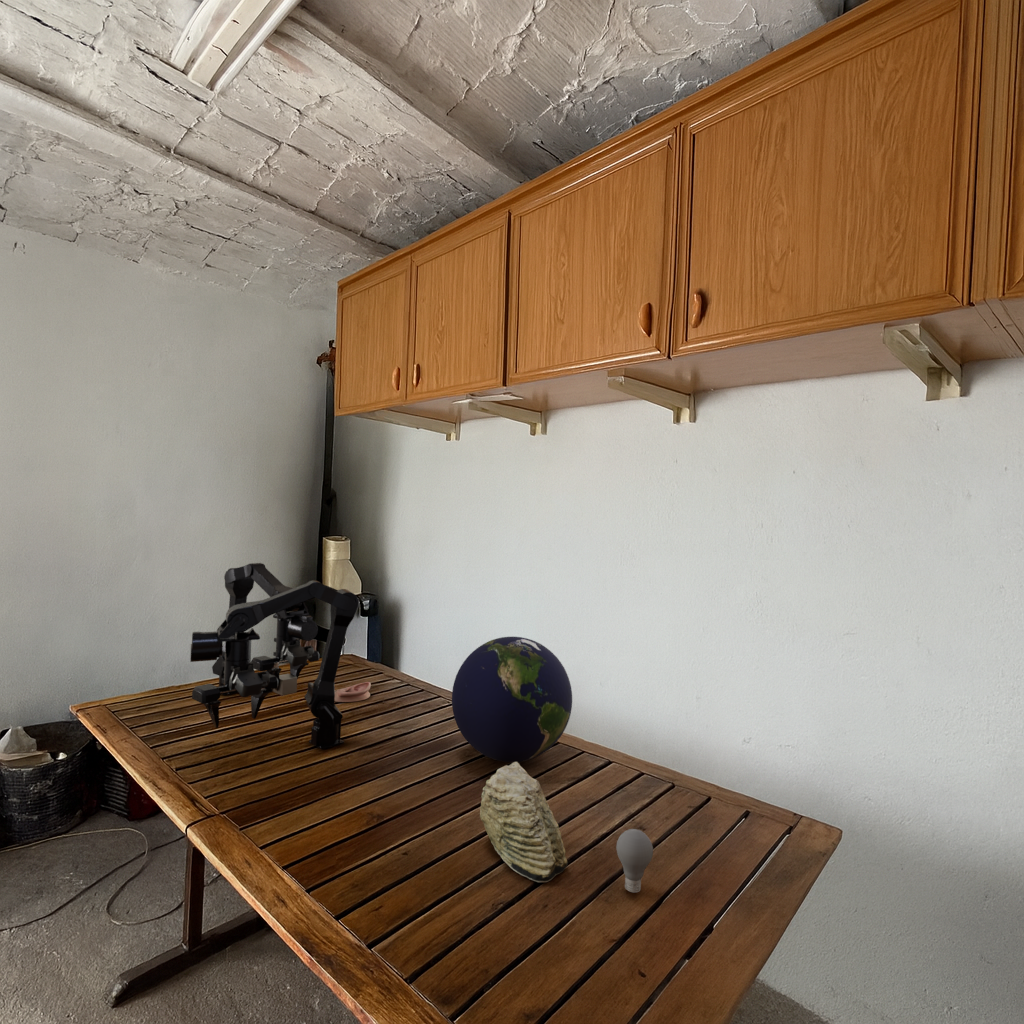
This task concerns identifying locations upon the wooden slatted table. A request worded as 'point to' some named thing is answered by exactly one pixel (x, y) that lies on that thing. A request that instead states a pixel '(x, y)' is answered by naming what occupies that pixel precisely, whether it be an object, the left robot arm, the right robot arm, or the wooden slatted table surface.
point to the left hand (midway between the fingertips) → (284, 688)
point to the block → (287, 684)
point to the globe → (512, 699)
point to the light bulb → (634, 857)
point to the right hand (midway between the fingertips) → (235, 722)
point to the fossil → (522, 824)
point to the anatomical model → (353, 693)
